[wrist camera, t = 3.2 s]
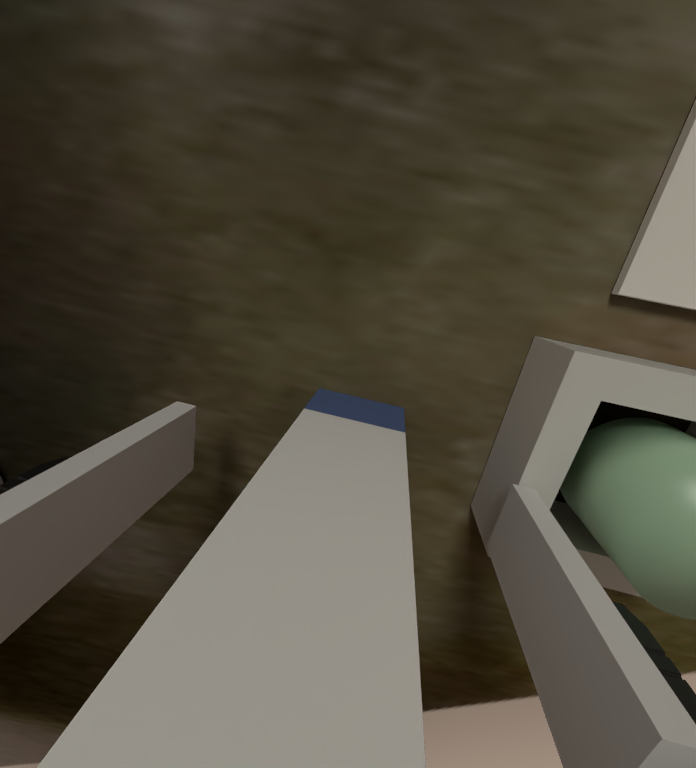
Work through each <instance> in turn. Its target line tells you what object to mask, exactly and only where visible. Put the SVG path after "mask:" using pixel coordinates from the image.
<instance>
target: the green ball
mask: <svg viewBox="0 0 696 768" xmlns="http://www.w3.org/2000/svg"><path fill="white" fill-rule="evenodd" d="M560 491H561V493H562V495H563V498H564V499H565V501H566V502H567V503H568V505H569V506H570V507H571V509H572V510H573V511H574V512H575V514H576V515H577V516H578V517H579V519H580V520H581V521H582V522H583V524H584V525H585V526H586V528H587V529H588V530H589V531H590V533H591V534H592V535H593V536H594V538H595V539H596V540H597V542H598V543H599V544H600V545H601V547H602V548H603V549H604V550H605V552H606V553H607V554H608V556H609V557H610V558H611V559H612V561H613V562H614V563H615V564H616V566H617V567H618V568H619V570H620V571H621V572H622V573H623V575H624V576H625V577H626V578H627V580H628V581H629V582H630V584H631V585H632V586H633V587H634V589H635V590H636V591H637V592H638V593H639V594H640V595H641V596H642V598H644V599H645V600H646V601H647V602H649V603H650V604H651V605H653V606H655V607H656V608H658V609H660V610H662V611H665V612H667V613H669V614H672V615H675V616H678V617H683V618H687V619H693V620H696V438H694V437H692V436H690V435H688V434H686V433H684V432H682V431H680V430H678V429H676V428H674V427H672V426H670V425H668V424H666V423H663V422H661V421H657V420H654V419H648V418H636V417H634V418H623V419H617V420H613V421H609V422H606V423H604V424H601V425H599V426H597V427H595V428H593V429H591V430H589V431H588V432H586V434H585V436H584V438H583V440H582V442H581V445H580V447H579V449H578V451H577V453H576V455H575V457H574V459H573V462H572V464H571V466H570V468H569V470H568V472H567V474H566V476H565V478H564V481H563V483H562V485H561V487H560Z"/></svg>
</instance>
